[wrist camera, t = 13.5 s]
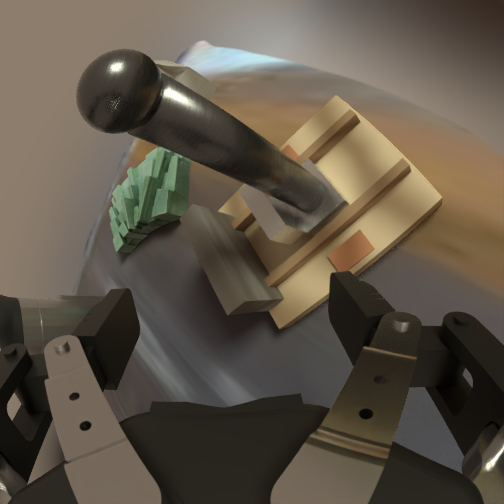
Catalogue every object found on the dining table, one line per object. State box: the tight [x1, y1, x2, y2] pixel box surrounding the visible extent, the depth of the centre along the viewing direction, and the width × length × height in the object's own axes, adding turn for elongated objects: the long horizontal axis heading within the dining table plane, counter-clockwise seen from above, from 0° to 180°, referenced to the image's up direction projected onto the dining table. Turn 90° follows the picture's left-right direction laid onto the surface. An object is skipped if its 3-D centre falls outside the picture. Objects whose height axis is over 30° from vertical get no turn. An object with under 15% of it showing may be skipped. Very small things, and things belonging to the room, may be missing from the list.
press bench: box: [180, 95, 442, 329], centre depth 25 cm, size 18×14×8 cm
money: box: [109, 147, 191, 253], centre depth 41 cm, size 20×16×5 cm
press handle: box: [76, 49, 350, 246], centre depth 17 cm, size 6×5×21 cm
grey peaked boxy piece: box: [153, 60, 218, 100], centre depth 36 cm, size 4×7×10 cm, turn 49°
